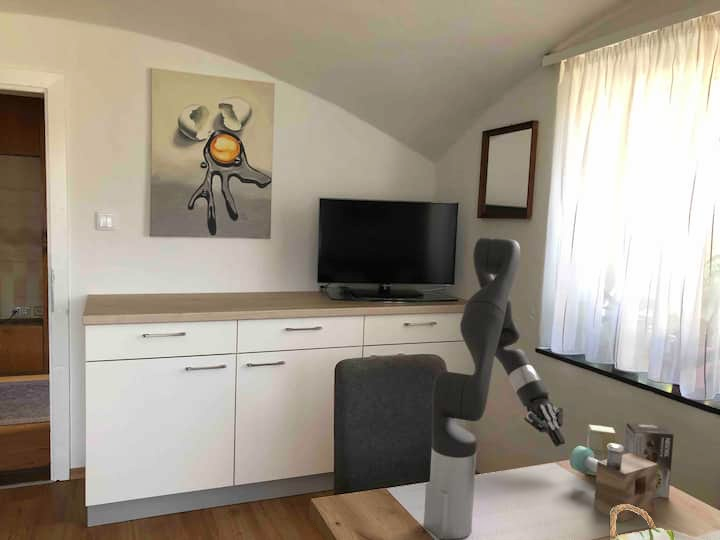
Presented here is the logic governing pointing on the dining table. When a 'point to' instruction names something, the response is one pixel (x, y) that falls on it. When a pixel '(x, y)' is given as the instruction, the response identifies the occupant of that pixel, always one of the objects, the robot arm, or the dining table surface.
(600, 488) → the mount
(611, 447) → the dial post
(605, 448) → the skincare box
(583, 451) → the knob
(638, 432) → the coffee box
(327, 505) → the dining table surface
